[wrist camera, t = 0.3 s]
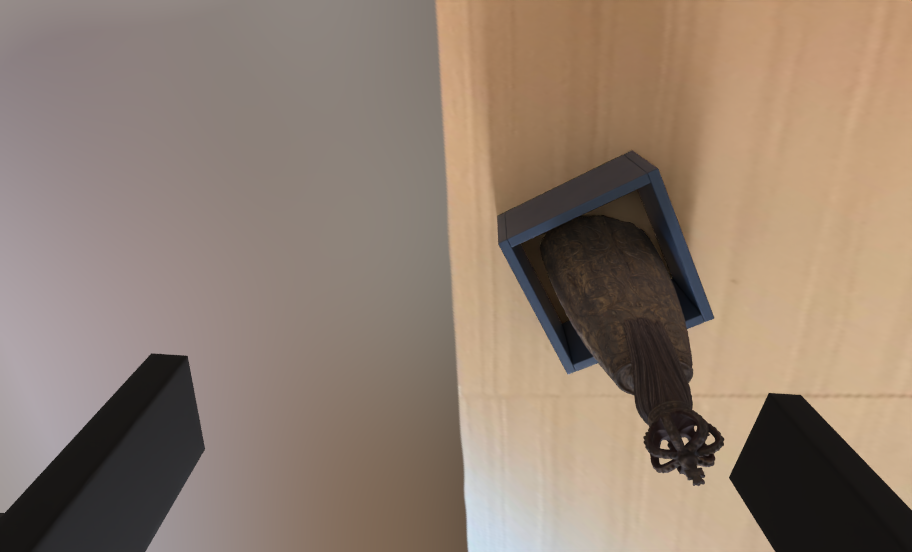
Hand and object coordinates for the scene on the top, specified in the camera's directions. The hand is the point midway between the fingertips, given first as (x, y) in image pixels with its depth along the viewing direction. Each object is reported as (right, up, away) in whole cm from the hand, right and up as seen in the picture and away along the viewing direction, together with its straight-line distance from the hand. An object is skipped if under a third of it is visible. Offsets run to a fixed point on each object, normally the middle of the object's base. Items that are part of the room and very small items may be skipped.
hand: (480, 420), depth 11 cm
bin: (+12, +6, +34) cm, 36 cm away
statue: (+12, +6, +34) cm, 36 cm away
